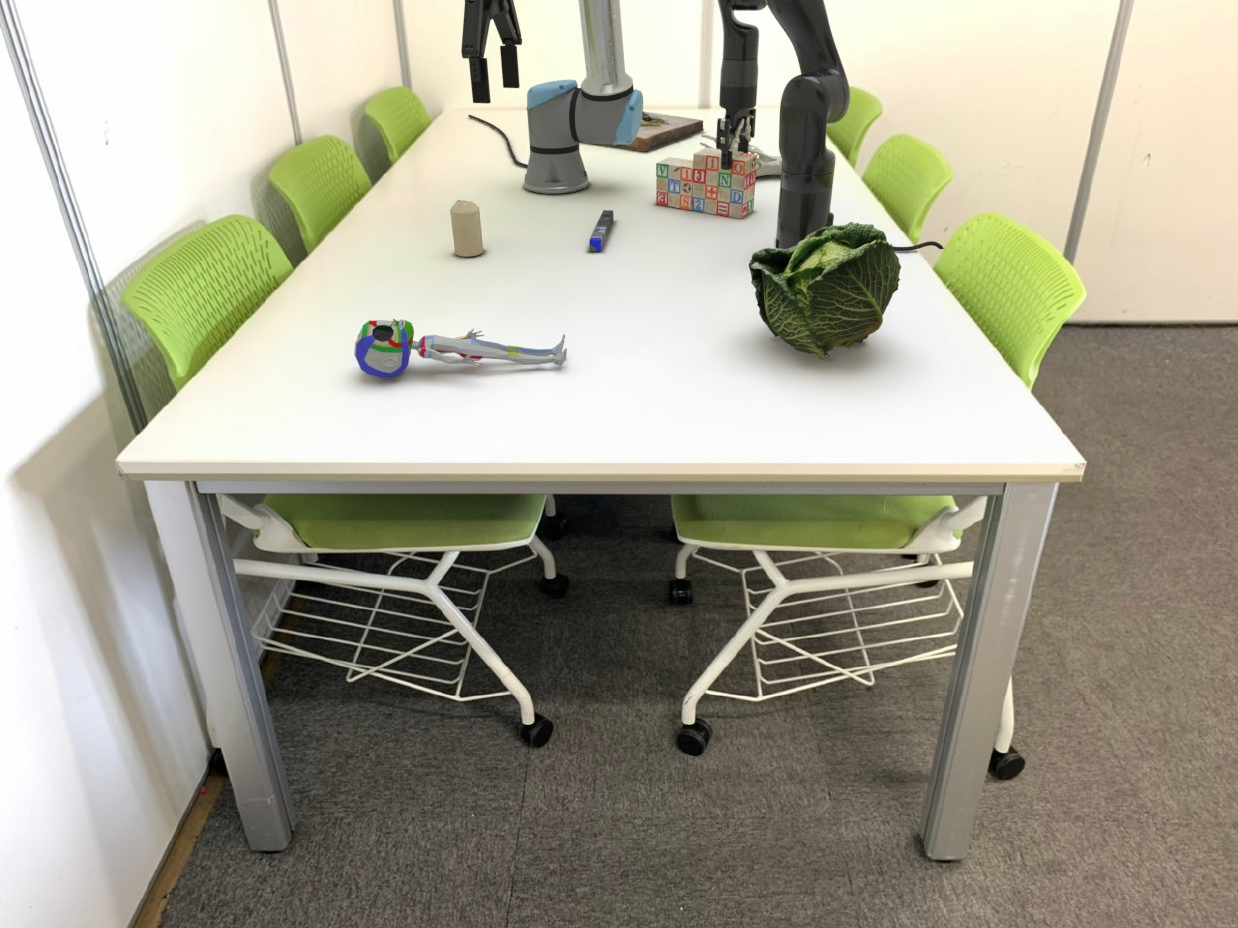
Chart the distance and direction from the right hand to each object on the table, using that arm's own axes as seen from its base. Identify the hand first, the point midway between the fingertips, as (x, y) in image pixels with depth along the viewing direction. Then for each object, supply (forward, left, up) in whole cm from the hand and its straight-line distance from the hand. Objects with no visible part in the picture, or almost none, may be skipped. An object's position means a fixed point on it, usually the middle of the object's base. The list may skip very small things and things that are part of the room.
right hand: (734, 165), depth 190 cm
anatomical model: (-16, -27, -10) cm, 33 cm away
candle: (+58, +9, -10) cm, 60 cm away
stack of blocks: (+5, -5, -10) cm, 12 cm away
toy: (+66, +59, -10) cm, 89 cm away
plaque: (-1, -78, -10) cm, 79 cm away
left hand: (+53, +23, +21) cm, 61 cm away
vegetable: (+13, +68, -10) cm, 70 cm away
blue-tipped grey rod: (+31, +7, -10) cm, 33 cm away
